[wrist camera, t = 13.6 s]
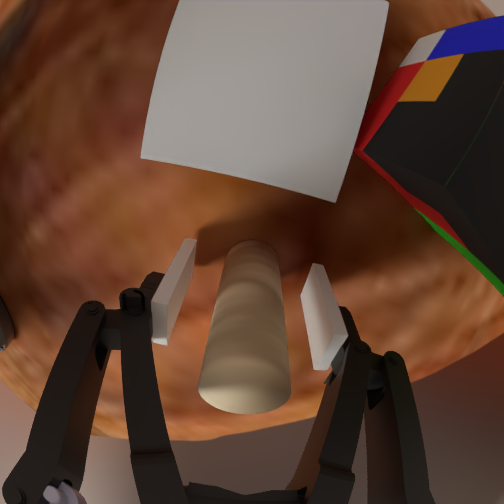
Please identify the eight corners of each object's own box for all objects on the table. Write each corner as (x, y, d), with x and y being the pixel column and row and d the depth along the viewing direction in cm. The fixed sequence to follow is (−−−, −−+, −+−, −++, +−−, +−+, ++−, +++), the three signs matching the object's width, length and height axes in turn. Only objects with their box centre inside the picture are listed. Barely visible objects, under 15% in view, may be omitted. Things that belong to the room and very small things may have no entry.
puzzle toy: (418, 38, 10) (527, 12, 2) (496, 138, 13) (591, 176, 4) (342, 143, 15) (444, 186, 6) (436, 232, 17) (519, 314, 8)
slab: (162, 149, 15) (140, 158, 12) (209, -19, 10) (198, -44, 7) (320, 186, 16) (335, 203, 13) (366, 19, 11) (389, 2, 8)
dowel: (221, 281, 19) (195, 406, 10) (229, 235, 17) (201, 358, 9) (271, 290, 19) (276, 417, 10) (284, 246, 18) (304, 373, 9)
